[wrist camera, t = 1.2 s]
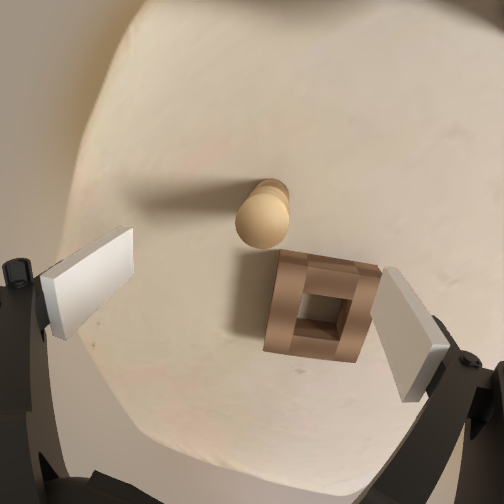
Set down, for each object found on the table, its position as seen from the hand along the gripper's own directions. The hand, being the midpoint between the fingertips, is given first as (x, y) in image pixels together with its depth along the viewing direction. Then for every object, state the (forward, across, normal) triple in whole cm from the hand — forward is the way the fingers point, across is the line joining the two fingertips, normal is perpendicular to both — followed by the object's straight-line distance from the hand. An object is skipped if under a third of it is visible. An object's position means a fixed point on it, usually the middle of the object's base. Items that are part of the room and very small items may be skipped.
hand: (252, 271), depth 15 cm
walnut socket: (+20, +8, -12) cm, 25 cm away
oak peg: (+21, 0, 0) cm, 21 cm away
